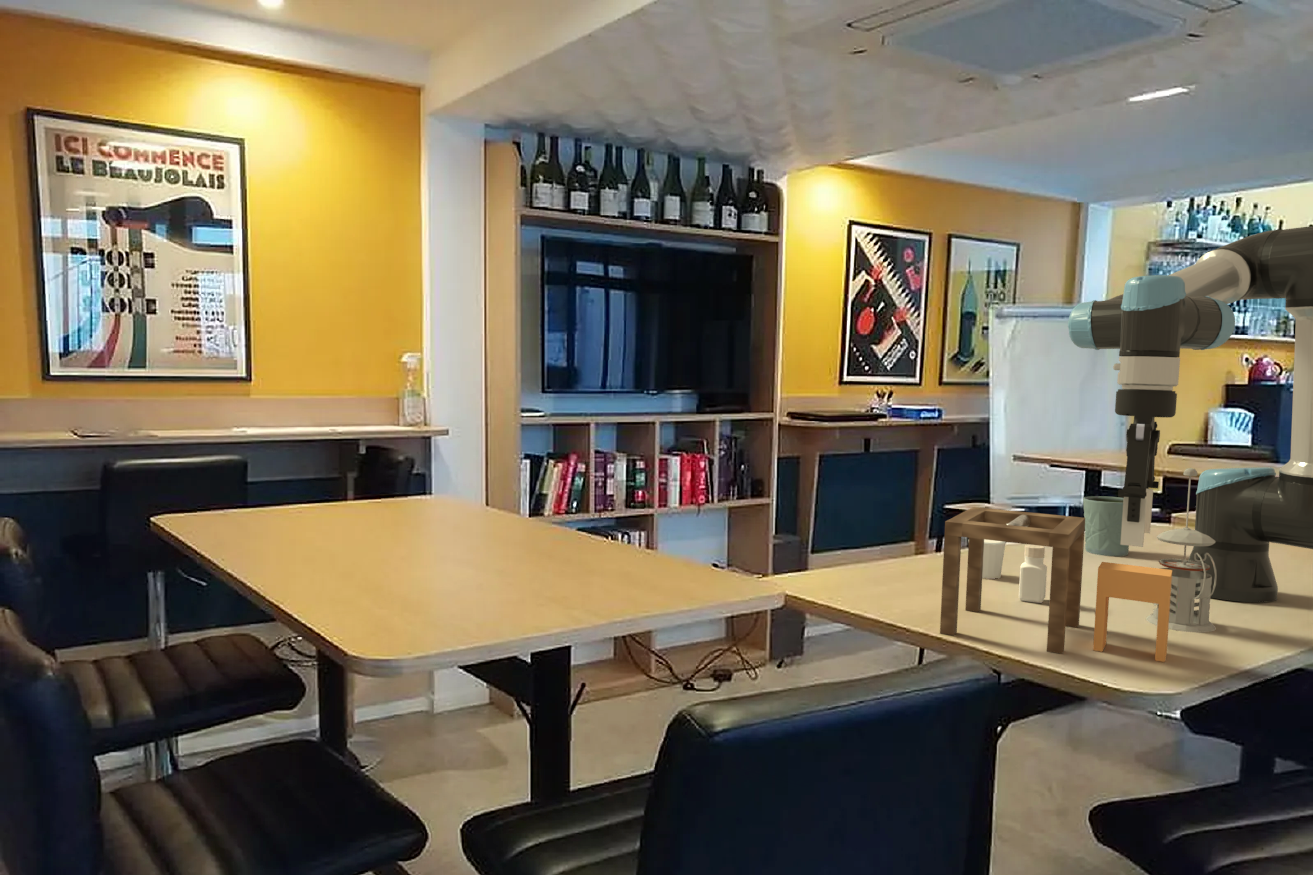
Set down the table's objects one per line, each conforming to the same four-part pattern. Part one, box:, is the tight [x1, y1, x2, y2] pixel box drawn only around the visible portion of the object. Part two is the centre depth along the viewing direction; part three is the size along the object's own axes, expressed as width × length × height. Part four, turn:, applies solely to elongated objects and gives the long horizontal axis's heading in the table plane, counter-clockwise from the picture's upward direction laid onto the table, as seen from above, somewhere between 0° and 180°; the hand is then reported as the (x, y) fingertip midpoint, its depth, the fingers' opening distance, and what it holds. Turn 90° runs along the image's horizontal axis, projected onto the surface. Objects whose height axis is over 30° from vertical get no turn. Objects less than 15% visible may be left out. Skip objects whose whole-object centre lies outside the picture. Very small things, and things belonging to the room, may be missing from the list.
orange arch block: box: [1092, 561, 1172, 663], centre depth 130 cm, size 9×5×12 cm, turn 58°
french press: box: [1145, 467, 1217, 633], centre depth 144 cm, size 10×12×25 cm
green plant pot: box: [1082, 495, 1130, 557], centre depth 203 cm, size 10×10×12 cm
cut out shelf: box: [939, 506, 1085, 655], centre depth 140 cm, size 17×18×17 cm
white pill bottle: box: [1018, 544, 1048, 604], centre depth 159 cm, size 4×4×10 cm
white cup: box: [968, 539, 1007, 580], centre depth 177 cm, size 7×7×7 cm
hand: (1135, 538), depth 129 cm, fingers open, 13 cm apart
